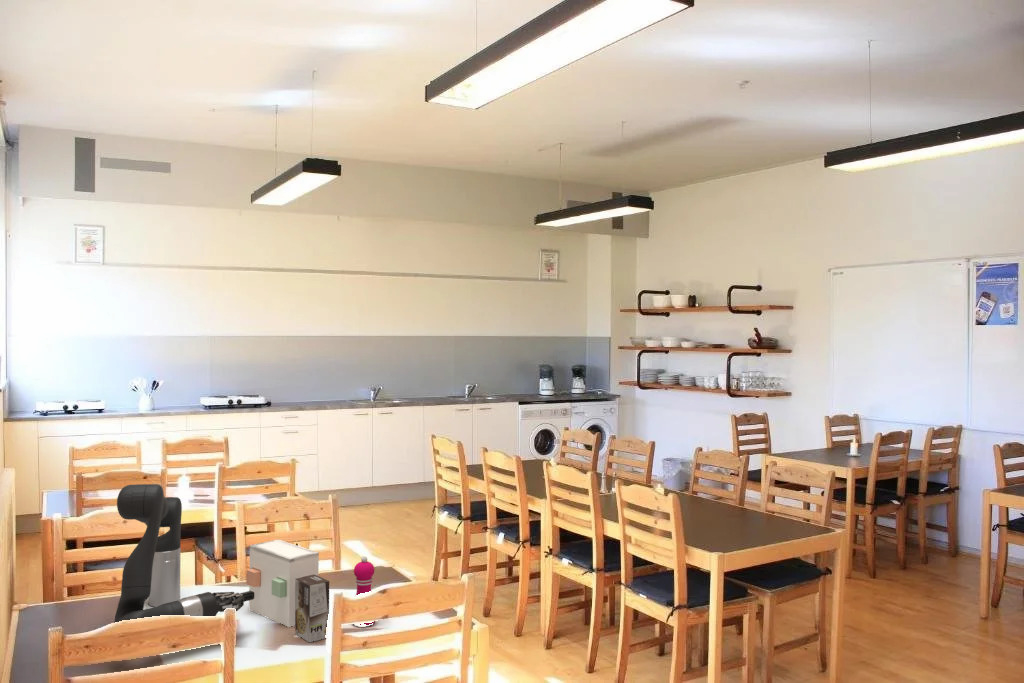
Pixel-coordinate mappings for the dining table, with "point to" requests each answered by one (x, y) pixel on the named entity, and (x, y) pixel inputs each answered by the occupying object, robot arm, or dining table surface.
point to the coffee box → (311, 607)
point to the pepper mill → (364, 577)
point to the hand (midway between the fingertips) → (252, 594)
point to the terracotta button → (254, 577)
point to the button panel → (283, 564)
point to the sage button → (279, 587)
